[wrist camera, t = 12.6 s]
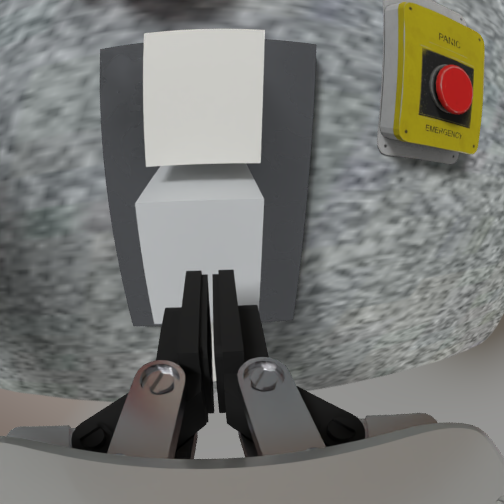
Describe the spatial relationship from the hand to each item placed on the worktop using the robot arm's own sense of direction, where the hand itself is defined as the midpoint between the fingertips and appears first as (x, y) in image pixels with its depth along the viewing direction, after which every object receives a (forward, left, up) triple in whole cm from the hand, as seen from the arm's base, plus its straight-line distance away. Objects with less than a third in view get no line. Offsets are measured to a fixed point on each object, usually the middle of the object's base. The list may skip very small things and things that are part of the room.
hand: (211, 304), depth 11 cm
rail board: (0, 0, -13) cm, 13 cm away
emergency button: (-11, +17, -14) cm, 25 cm away
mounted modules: (0, 0, -10) cm, 10 cm away
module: (0, 0, -10) cm, 10 cm away
